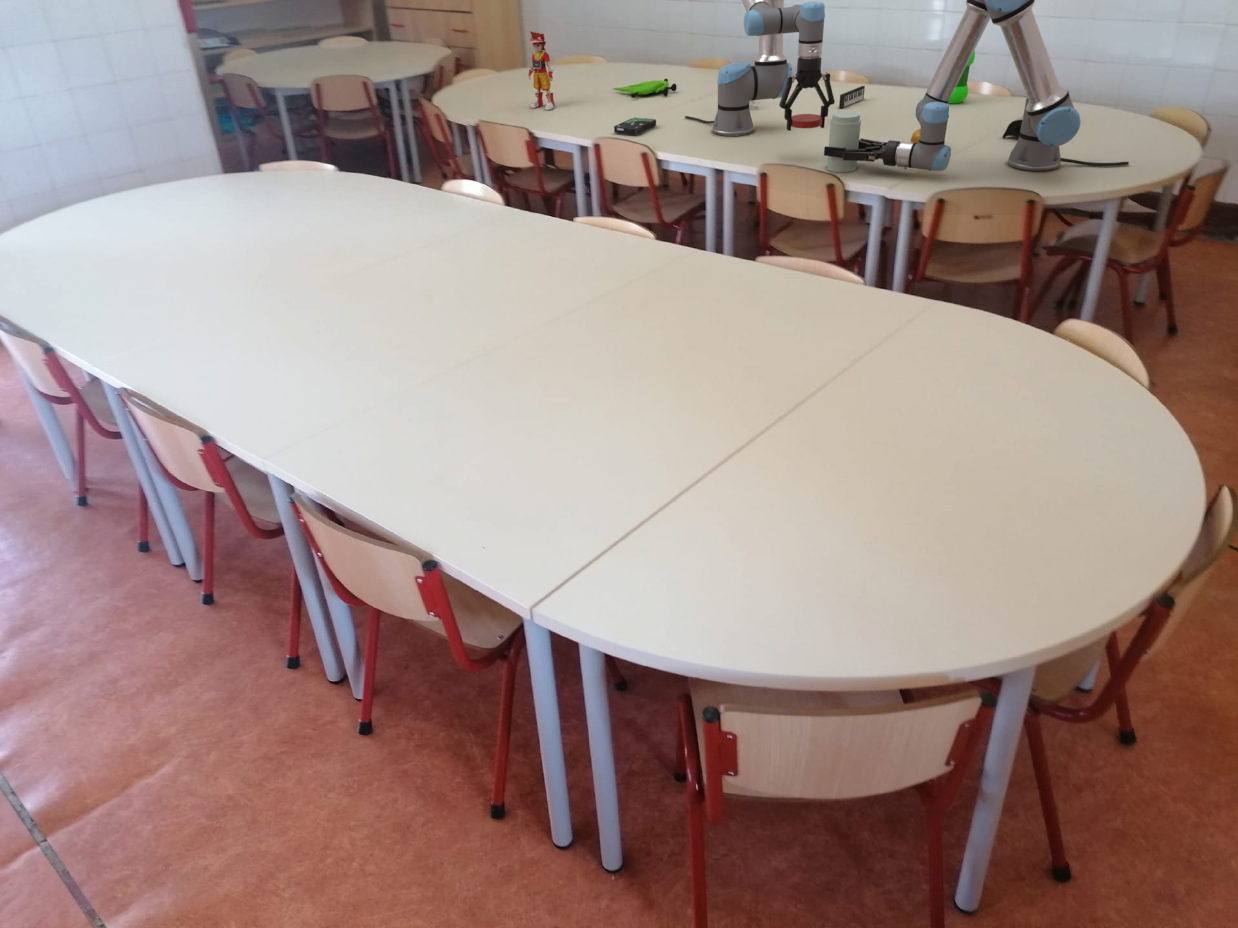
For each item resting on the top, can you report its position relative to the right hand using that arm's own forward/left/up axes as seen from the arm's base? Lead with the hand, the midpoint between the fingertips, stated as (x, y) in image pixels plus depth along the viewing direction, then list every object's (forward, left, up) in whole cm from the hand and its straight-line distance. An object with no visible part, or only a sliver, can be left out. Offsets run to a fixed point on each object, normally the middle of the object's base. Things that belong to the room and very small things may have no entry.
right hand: (830, 147), depth 292 cm
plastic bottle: (-55, -81, -6) cm, 98 cm away
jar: (-4, +2, -6) cm, 8 cm away
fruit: (-33, -16, -6) cm, 37 cm away
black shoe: (-74, -38, -6) cm, 84 cm away
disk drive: (+69, -51, -6) cm, 86 cm away
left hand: (+8, -9, +4) cm, 13 cm away
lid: (+8, -9, +7) cm, 14 cm away
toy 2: (+73, -114, -6) cm, 135 cm away
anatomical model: (+28, -84, -6) cm, 89 cm away
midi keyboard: (-16, -83, -6) cm, 85 cm away
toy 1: (+113, -91, -6) cm, 145 cm away
